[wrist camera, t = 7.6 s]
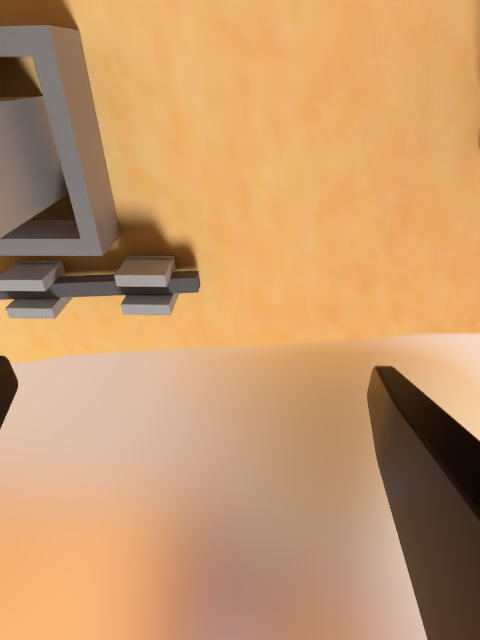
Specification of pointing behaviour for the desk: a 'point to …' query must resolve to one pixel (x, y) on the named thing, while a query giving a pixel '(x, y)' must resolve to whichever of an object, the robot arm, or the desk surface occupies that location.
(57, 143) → the frame
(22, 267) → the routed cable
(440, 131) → the desk surface
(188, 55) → the desk surface
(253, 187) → the desk surface
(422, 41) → the desk surface
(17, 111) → the block
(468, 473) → the robot arm
